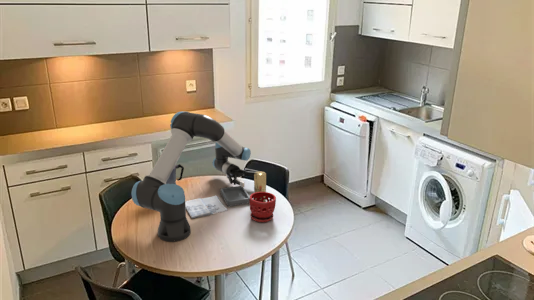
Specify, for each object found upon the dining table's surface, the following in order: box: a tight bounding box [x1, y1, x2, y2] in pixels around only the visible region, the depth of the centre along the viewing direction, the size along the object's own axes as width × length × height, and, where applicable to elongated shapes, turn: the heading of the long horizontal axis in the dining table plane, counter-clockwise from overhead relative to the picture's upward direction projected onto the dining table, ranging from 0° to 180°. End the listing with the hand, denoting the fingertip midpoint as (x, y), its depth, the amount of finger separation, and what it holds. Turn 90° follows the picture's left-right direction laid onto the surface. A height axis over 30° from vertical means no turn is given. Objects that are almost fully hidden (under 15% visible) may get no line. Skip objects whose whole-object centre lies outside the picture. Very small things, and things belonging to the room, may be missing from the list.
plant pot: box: [248, 191, 277, 223], centre depth 212 cm, size 13×13×12 cm
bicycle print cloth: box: [185, 195, 228, 219], centre depth 223 cm, size 19×20×2 cm
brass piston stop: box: [253, 170, 267, 202], centre depth 229 cm, size 6×6×16 cm
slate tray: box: [220, 185, 250, 207], centre depth 233 cm, size 17×13×3 cm
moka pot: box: [166, 163, 185, 185], centre depth 232 cm, size 10×15×20 cm, turn 115°
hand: (253, 181), depth 233 cm, fingers open, 13 cm apart
